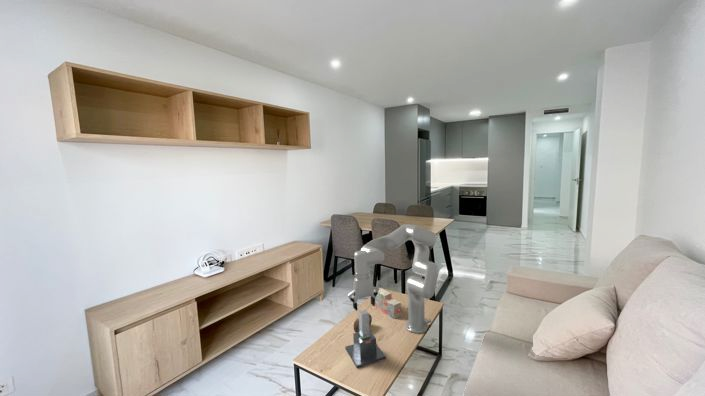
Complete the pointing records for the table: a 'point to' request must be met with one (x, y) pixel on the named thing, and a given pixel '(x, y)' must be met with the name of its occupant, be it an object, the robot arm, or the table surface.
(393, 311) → the stack of blocks
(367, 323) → the bar
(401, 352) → the table surface
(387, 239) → the robot arm
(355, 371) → the table surface
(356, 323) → the tin
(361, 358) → the jack base
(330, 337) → the table surface
